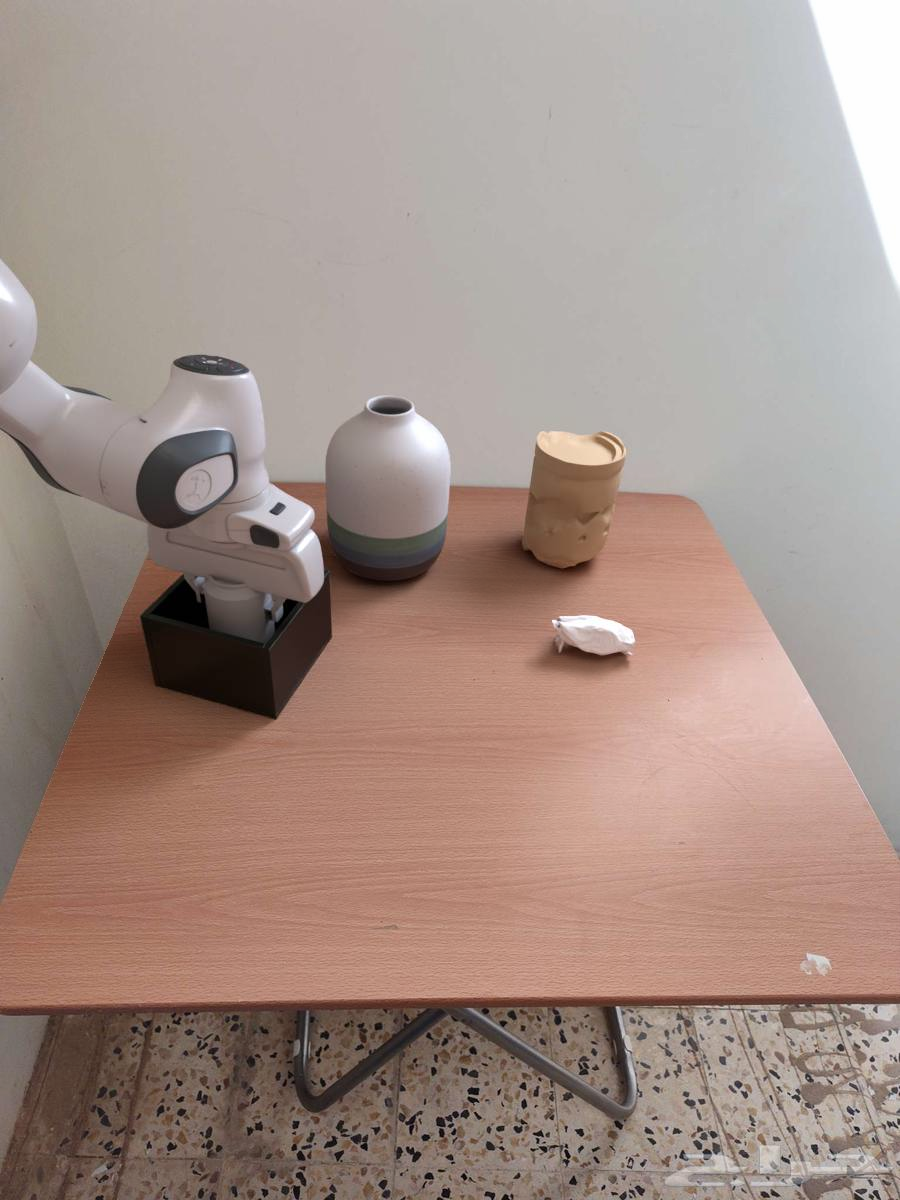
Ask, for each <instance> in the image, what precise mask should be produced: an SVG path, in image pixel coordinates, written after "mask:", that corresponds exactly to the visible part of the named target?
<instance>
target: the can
mask: <svg viewBox="0 0 900 1200" xmlns="http://www.w3.org/2000/svg"><path fill="white" fill-rule="evenodd" d="M208 578H209V579H207V578H205V579H204V581H203V588H204V595H205V601H206V608H207V615H208V622H209V628H210V629H211V630H215V631H219V632H223V633H227V634H231V635H234V636H238V637H242V638H246V639H250V640H254V641H257V642H261V643H265V644H266V643H267V642H268V641H269V639H270V638H271V637H272V635H273V634H274V633H275V625H274V621H270V620H266V619H265V614H264V608H265V607H266V606H267V605H269V603H270V601H271V600H272V599H271V594H267V593H263V592H259V591H255V590H251V589H249V588H247V585H248V584H246V583H243V584H234V583H230V582H226V581H222V580H218V579H214V578H213V577H212V576H211V575H210V574H208Z"/></svg>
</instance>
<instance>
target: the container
mask: <svg viewBox="0 0 900 1200" xmlns="http://www.w3.org/2000/svg"><path fill="white" fill-rule="evenodd" d="M626 458H627V448H626V446H625V443H624V442H623V441H622V439H620V437H619V436H617V435H615V434H613V433H611V432H609V431H605V430H604V431H603V430H602V431H601V430H600V431H597V432H594V433H591V434H582V435H580V434H576V433H572V432H568V431H560V430H559V431H556V430H549V431H548V432H546V431H545V430H542V431H540V432H539V433H538V434H537V436H536V440H535V447H534V456H533V462H532V470H531V474H530V475H531V476H530V483H529V491H528V496H527V497H528V498H527V502H526V503H527V505H526V512H525V519H524V526H523V535H522V539H521V546H522V549H523V550H524V551H531V552H532V554H533V556H534V557H535V558H536V560H537V561H539V562H542V563H544V564H546V565H548V566H552V567H555V568H559V569H567V568H569V567H576V565H577V564H580V563H583V562H587V561H590V560H591V559H593V558H594V557H596V556H597V555H598V554H599V553H600V552H601V551H602V550H603V549H604V547H605V545H606V541H607V540H608V536H609V533H610V529H611V525H612V521H613V516H614V513H615V509H616V503H617V501H616V500H617V498H618V495H619V494H618V493H619V489H620V485H621V480H622V477H623V476H622V475H623V471H622V469H623V468H624V466H625V462H626Z"/></svg>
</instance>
